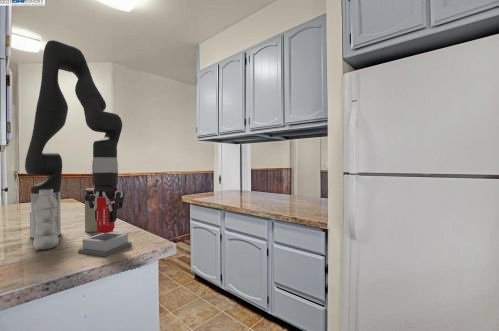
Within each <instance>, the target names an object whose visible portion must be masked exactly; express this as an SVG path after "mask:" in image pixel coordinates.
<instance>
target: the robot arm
mask: <svg viewBox="0 0 499 331" xmlns="http://www.w3.org/2000/svg"><path fill="white" fill-rule="evenodd" d="M41 68H42V69H41V82H40V87H39V88H40V89H39V93H38V98H37V103H36V107H35V108H36V109H35V113H34V121H33V129H32V133H31V134H32V135H31V138H30V142H29V146H28V149H27V153H26V156H25V162H24V170H25V172H26V174H27V175H29V176H47V178H46V179H44V180H43V181H42V182H39V183H37V184H33V185H32V186H30V212H29V237H31V238H32V239H34V237H35V232H36V217H35V211H34V204H35V203H36V201H37V200H38V199H39V198H40V196H39V190H43V189H53V193H54V195H52V196H53V197H54V198H55V199H56V200H57V202H58V204H59V205H58V212H57V220H56V225H57V233H58V236H59V235H60V234H61V233H62V229H61V228H62V227H61V226H62V225H61V224H62V220H61V219H62V216H61V215H62V213H61V212H62V210H61V207H62V206H61V202H62V201H61V199H62V198H61V193H62V192H61V188H62V179H63V178H62V176H63V175H62V174H63V159H62V156H61V155H60V153H58V152H55V151H54V152H53V151H51V152H49V151H47V152H46V151H44V149H45V147H46V144H48V142H49V141H50V140H51V139H52V138H53V137H54V136H55V135H56V134H57V133H58V132H60V130H62V129H63V127H64V126H65V125H66V120H67V116H68V111H69V106H68V102H67V100H66V98H65V96H64V94H63V92H62V90H61V87H60V84H59V71H60V70H61V71H65V72H67V73H72V74H74V75H75V77H76V78H77V81H76V84H75V87H74V88H75V89H74V92H75V95H76V98H77V99H78V101H79V103H80V105H81V106H82V108H83V113H84V118H85V123H86V125H87V127H88V128H89V129H90V130H91V131H93V132H96V133H104V134H105V135H104V136H103V138H102V139H96V140H95V141H93V142H92V143H93V144H92V157H93V158H92V162H91V163H92V166H91V167H92V169H91V172H92V173H91V174H92V176H91V177H92V178H91V180H92V186H94V187H93V188H94V190H92V191H87V192H86V194H87V197H88V202H89V207H90V208H93V209H94V210H95V220H96V221H97V198H98V197H99V196H103V197H105V198H106V205H108V207H109V211H110V212H109V222H110V223H113V222H116V221H117V214H118V213H117V211H118V210H120V209H122V208H123V204H124V200H125V193H126V192H125V191H124V190H123V191H120V190H118V188H117V186H118V184H119V163H118V143H119V141H120V136H121V133H122V129H123V122H122V119H121V117H120V116H119V114H118V113H113V112H108V111H105V110H106V108H107V103H106V101H105V99H104V97H103V96H102V94H101V92H100V91H99V89H98V88H97V86H96V83H95V81H94V79H93V77H92V74H91V71H90V68H89V66H88V62H87V59H86V58H85V55H84V54H83V52H82V51H81V50H80V49H79V48H77V47H75V46H72V45H70V44H67V43H64V42H62V41H58V40H56V39H50V40H48V41H47V42H46V44H45V45H44V50H43V55H42V67H41ZM109 199H114V201H112V202H110V201H109ZM92 201H94V204H93V202H92ZM112 204H113V207H112Z"/></svg>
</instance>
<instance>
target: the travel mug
mask: <svg viewBox="0 0 499 331" xmlns="http://www.w3.org/2000/svg"><path fill="white" fill-rule="evenodd" d="M94 188H95V187H89V188H85V190H84V191H86V194H85V196H84V232H86V233H98V230H97V221H96V220H95V210H94V209H93V208H90V207H89V202H88V197H87V191H92V190H94ZM92 202H93V204H94V201H92Z"/></svg>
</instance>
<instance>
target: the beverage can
mask: <svg viewBox="0 0 499 331" xmlns="http://www.w3.org/2000/svg"><path fill="white" fill-rule="evenodd" d="M109 201H110V202H112V201H114V199H109ZM112 207H113V204H112ZM109 212H110V211H109V207H108V205H106V198H105V197H103V196H99V197H98V198H97V230H98V232H97V233H98V234H101V233H109V232H114V229H115V228H116V227H115V224H116V223H115V222H116V221H115V222H113V223H110V222H109Z"/></svg>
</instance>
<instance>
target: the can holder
mask: <svg viewBox="0 0 499 331" xmlns="http://www.w3.org/2000/svg"><path fill="white" fill-rule="evenodd" d="M131 246H132V241H129V234H128V233H125V232H123V233H122V232H121V233H120V232H114V231H112V232H109V233H98V234H95V235H93V236H89V237H85V238H83V239H82V247H81V248H78V254H83V255H84V254H85V255H91V256H92V255H93V256H100V257H101V256H102V257H108V256H110V255H112V254H114V253H115V254H116V253H117V252H119V251H121V250H124V249H126V248H128V247H131Z"/></svg>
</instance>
